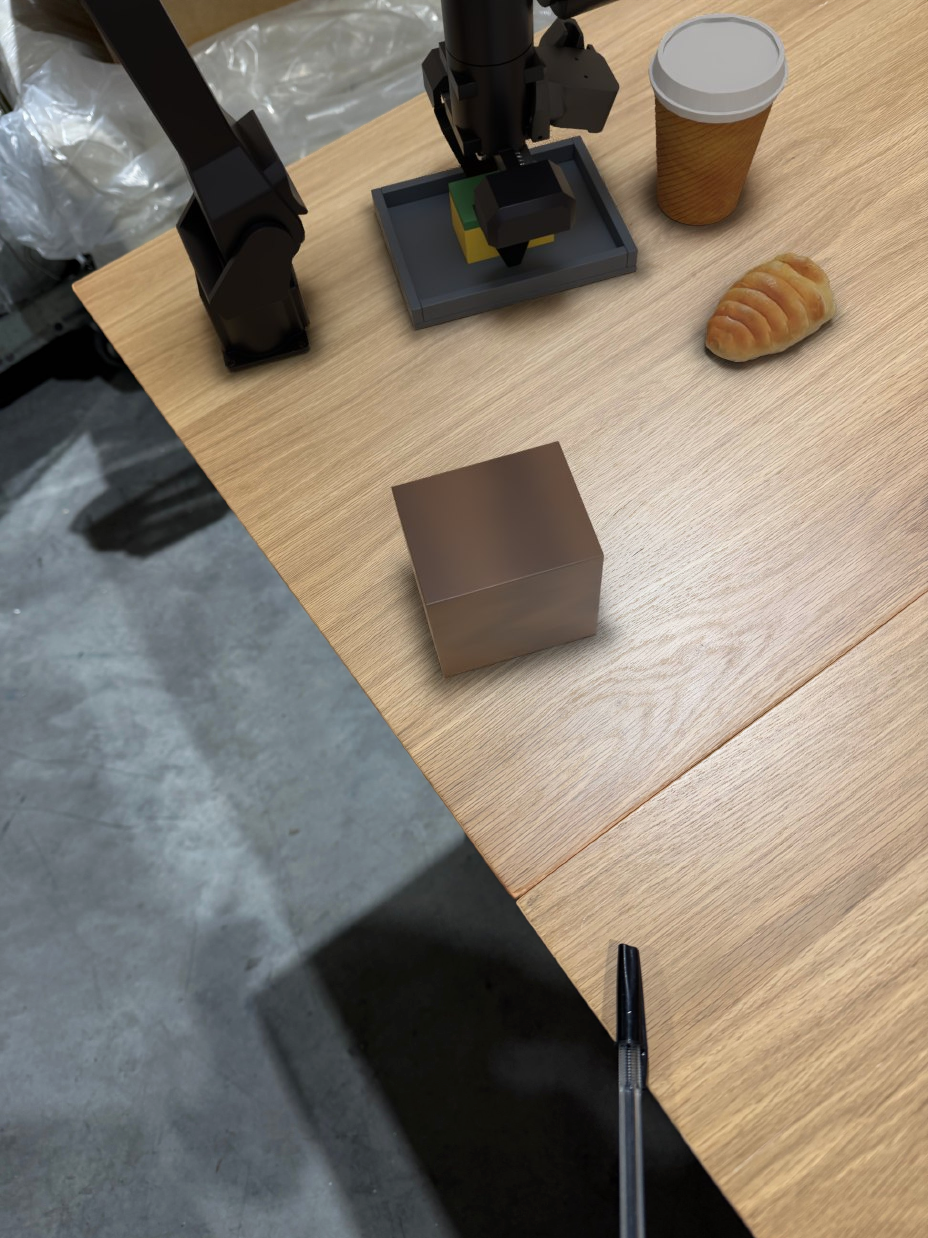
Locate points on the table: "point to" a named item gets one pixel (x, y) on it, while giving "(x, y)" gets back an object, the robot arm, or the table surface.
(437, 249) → the tray
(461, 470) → the cube
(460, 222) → the sponge
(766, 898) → the table surface
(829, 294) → the pastry
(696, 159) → the disposable coffee cup
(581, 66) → the robot arm
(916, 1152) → the table surface
